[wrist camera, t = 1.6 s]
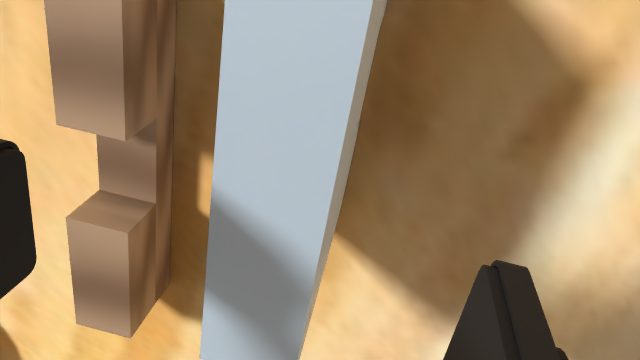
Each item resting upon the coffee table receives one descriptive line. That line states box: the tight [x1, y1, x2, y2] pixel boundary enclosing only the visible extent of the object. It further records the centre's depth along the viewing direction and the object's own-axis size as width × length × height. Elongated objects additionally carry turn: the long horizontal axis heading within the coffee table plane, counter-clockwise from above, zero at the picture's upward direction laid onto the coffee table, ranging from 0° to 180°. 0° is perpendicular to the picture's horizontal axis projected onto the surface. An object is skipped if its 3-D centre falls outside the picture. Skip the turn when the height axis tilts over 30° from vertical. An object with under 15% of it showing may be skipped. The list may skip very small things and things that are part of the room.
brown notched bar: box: [44, 0, 176, 338], centre depth 23 cm, size 18×3×4 cm, turn 170°
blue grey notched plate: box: [200, 0, 387, 360], centre depth 17 cm, size 3×14×11 cm, turn 170°
